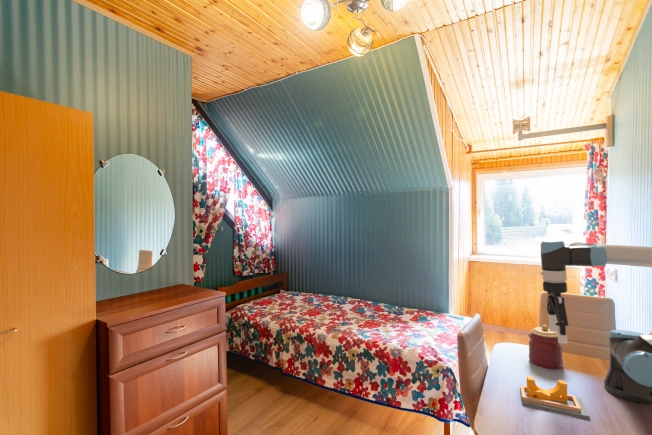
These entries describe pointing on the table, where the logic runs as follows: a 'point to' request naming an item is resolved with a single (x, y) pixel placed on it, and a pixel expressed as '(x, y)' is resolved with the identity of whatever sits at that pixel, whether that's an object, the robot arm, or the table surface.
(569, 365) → the table surface
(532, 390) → the pipe clamp
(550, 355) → the canister
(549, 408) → the holder board
